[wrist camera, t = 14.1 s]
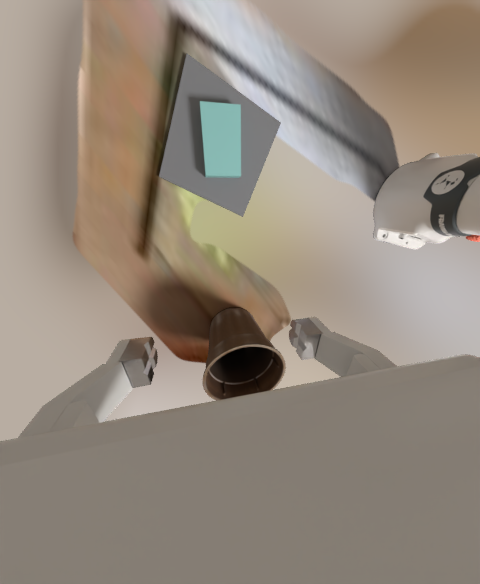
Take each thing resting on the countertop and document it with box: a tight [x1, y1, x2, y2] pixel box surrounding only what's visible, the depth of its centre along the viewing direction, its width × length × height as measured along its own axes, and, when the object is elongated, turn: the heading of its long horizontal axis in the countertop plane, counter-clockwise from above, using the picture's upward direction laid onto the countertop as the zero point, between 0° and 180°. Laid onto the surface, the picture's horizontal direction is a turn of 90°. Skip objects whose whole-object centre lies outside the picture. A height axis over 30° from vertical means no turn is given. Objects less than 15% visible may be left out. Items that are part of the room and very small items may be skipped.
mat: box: [159, 54, 281, 217], centre depth 30 cm, size 16×16×1 cm
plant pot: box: [203, 308, 286, 401], centre depth 41 cm, size 16×16×16 cm
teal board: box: [200, 101, 241, 178], centre depth 29 cm, size 2×6×9 cm
